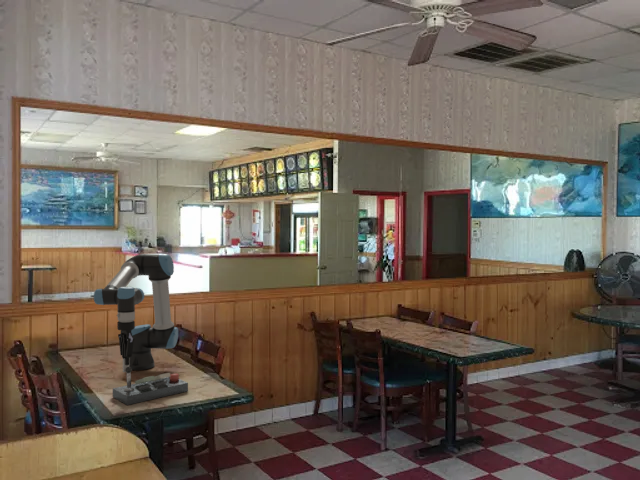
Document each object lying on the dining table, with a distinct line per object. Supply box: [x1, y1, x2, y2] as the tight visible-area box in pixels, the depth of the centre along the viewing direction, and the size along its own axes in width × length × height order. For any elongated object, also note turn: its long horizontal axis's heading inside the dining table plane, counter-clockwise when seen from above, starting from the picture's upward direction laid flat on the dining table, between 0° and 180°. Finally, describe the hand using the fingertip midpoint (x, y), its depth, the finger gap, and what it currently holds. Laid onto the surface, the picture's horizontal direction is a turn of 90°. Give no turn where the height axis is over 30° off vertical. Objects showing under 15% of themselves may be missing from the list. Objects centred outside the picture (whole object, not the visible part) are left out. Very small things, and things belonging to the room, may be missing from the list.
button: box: [169, 372, 180, 382], centre depth 271 cm, size 4×4×3 cm
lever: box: [125, 367, 133, 388], centre depth 256 cm, size 3×3×10 cm
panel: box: [112, 377, 189, 406], centre depth 263 cm, size 16×30×5 cm, turn 132°
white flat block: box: [134, 375, 155, 385], centre depth 261 cm, size 10×5×2 cm, turn 42°
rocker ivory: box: [153, 372, 171, 381], centre depth 266 cm, size 10×5×2 cm, turn 42°
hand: (126, 371), depth 257 cm, fingers closed
